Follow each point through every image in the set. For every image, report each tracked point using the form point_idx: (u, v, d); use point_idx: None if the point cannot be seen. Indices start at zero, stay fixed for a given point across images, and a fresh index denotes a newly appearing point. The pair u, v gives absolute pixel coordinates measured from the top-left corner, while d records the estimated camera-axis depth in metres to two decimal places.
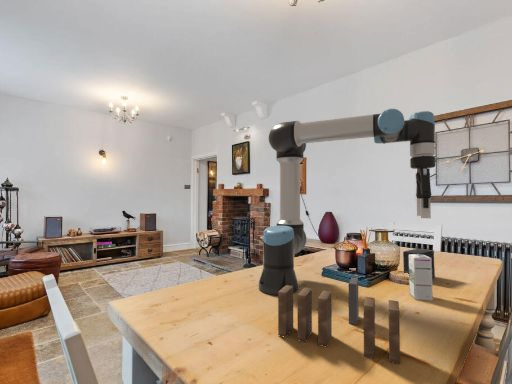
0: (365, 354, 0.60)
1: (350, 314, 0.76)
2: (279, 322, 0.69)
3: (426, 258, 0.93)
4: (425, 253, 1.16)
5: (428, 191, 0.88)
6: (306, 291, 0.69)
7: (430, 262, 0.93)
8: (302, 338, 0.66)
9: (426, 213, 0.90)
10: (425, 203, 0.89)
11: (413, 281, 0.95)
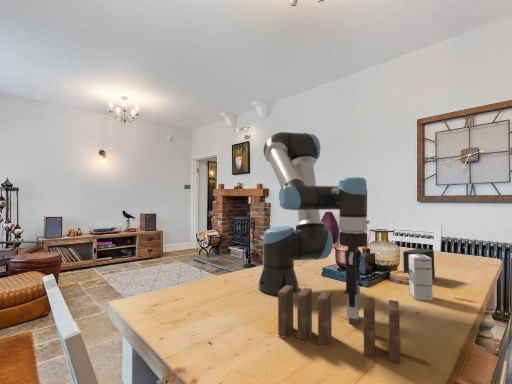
0: (365, 354, 0.60)
1: None
2: (279, 322, 0.69)
3: (426, 258, 0.93)
4: (425, 253, 1.16)
5: (352, 289, 0.72)
6: (306, 291, 0.69)
7: (430, 262, 0.93)
8: (302, 338, 0.66)
9: (353, 312, 0.75)
10: (350, 301, 0.74)
11: (413, 281, 0.95)
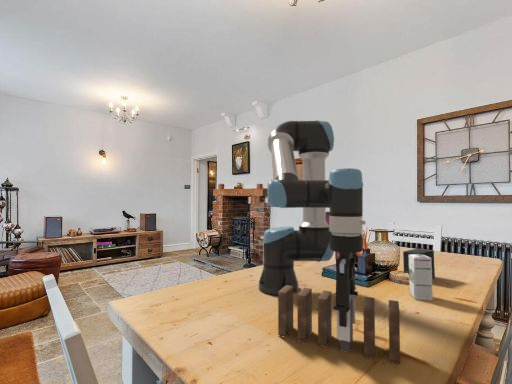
0: (365, 354, 0.60)
1: None
2: (279, 322, 0.69)
3: (426, 258, 0.93)
4: (425, 253, 1.16)
5: (343, 304, 0.57)
6: (306, 291, 0.69)
7: (430, 262, 0.93)
8: (302, 338, 0.66)
9: (344, 333, 0.60)
10: (341, 319, 0.59)
11: (413, 281, 0.95)
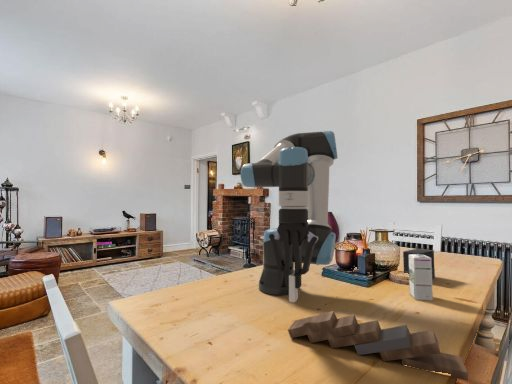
0: (381, 352, 0.58)
1: (366, 346, 0.59)
2: (300, 328, 0.66)
3: (426, 258, 0.93)
4: (425, 253, 1.16)
5: None
6: (355, 324, 0.64)
7: (430, 262, 0.93)
8: (311, 339, 0.65)
9: None
10: None
11: (413, 281, 0.95)
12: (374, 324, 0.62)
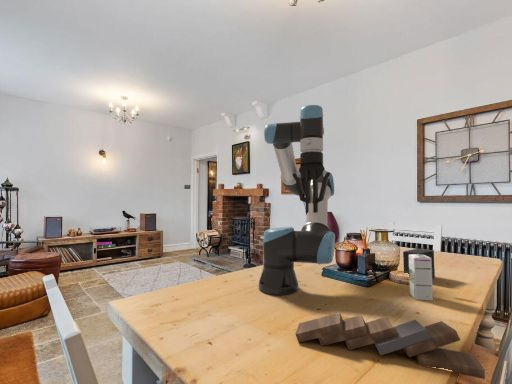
0: (407, 348, 0.58)
1: (388, 344, 0.59)
2: (309, 332, 0.65)
3: (426, 258, 0.93)
4: (425, 253, 1.16)
5: None
6: (365, 324, 0.65)
7: (430, 262, 0.93)
8: (322, 342, 0.64)
9: None
10: None
11: (413, 281, 0.95)
12: (386, 321, 0.64)
